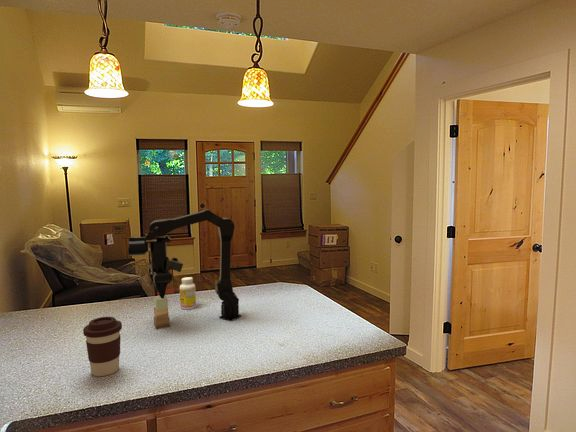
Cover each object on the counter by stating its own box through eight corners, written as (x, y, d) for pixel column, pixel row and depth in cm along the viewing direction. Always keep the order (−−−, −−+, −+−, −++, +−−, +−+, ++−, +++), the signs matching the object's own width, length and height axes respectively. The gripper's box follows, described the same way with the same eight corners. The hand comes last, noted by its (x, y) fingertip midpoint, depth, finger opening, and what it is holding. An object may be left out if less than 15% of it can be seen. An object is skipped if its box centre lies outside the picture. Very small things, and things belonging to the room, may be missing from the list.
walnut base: (169, 326, 145) (169, 317, 144) (156, 329, 142) (155, 320, 142) (167, 322, 149) (167, 313, 149) (154, 325, 147) (153, 316, 147)
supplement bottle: (179, 306, 168) (177, 277, 167) (194, 304, 171) (193, 275, 170) (181, 311, 162) (180, 281, 161) (197, 308, 165) (196, 279, 164)
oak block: (168, 317, 145) (168, 308, 144) (156, 319, 143) (155, 310, 142) (166, 314, 149) (166, 305, 148) (154, 316, 147) (153, 307, 146)
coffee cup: (129, 362, 116) (126, 313, 115) (115, 379, 106) (112, 326, 105) (95, 363, 116) (93, 314, 115) (79, 380, 106) (75, 327, 105)
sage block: (167, 308, 144) (167, 298, 144) (156, 310, 142) (156, 299, 142) (166, 305, 148) (165, 295, 147) (155, 307, 146) (154, 297, 146)
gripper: (186, 256, 139) (187, 298, 140) (175, 248, 155) (177, 286, 157) (153, 259, 134) (155, 303, 135) (146, 250, 150) (148, 290, 151)
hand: (160, 295), depth 145 cm, fingers open, 9 cm apart
